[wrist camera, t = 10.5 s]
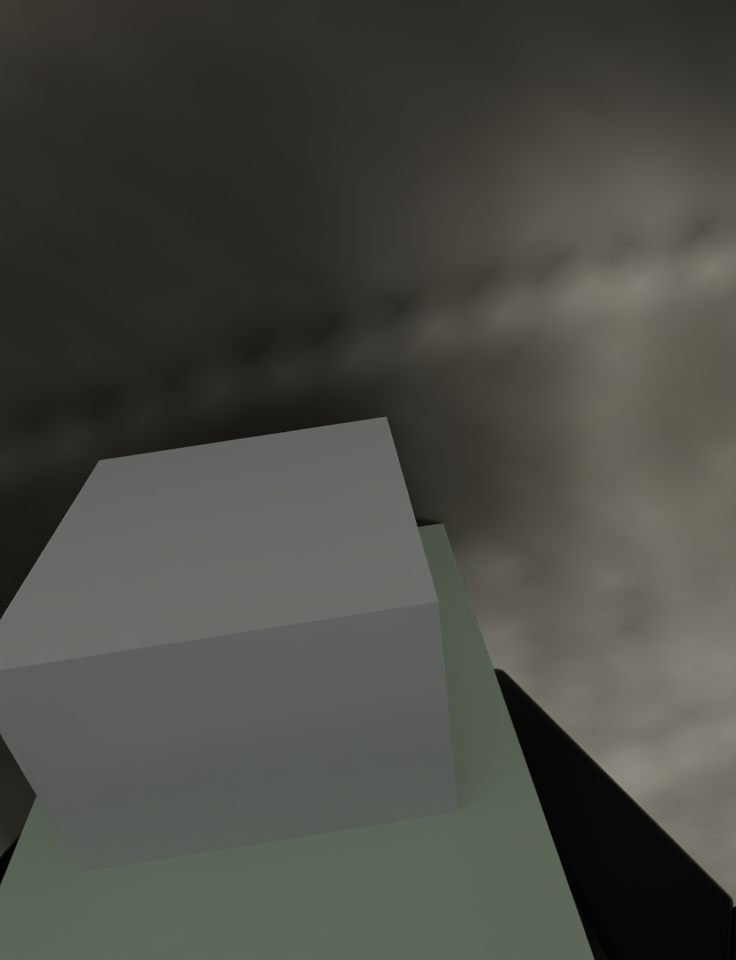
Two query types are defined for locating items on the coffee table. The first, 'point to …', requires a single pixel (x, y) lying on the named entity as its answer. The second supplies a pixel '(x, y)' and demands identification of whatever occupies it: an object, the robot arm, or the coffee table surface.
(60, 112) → the coffee table surface
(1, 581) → the coffee table surface
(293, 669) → the sage plug
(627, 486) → the coffee table surface
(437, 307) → the coffee table surface
